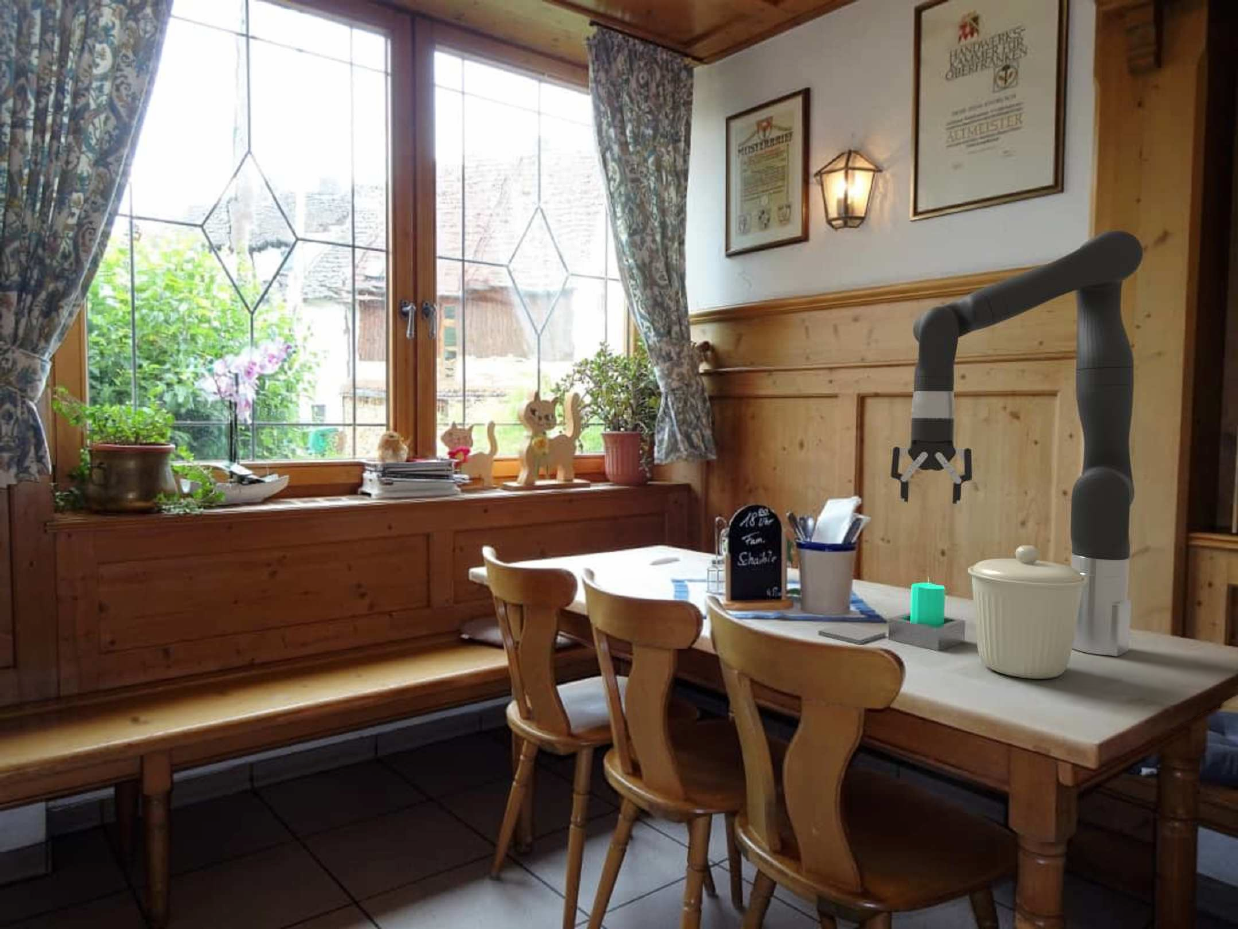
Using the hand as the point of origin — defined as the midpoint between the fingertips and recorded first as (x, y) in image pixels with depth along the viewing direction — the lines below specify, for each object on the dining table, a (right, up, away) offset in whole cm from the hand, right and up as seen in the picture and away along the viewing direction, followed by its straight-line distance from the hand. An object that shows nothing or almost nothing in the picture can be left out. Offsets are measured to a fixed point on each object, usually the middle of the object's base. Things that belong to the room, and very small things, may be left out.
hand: (930, 502), depth 162 cm
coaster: (-14, -26, +4) cm, 29 cm away
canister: (+9, -28, -17) cm, 34 cm away
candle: (0, -26, +1) cm, 26 cm away
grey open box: (0, -26, +1) cm, 26 cm away
